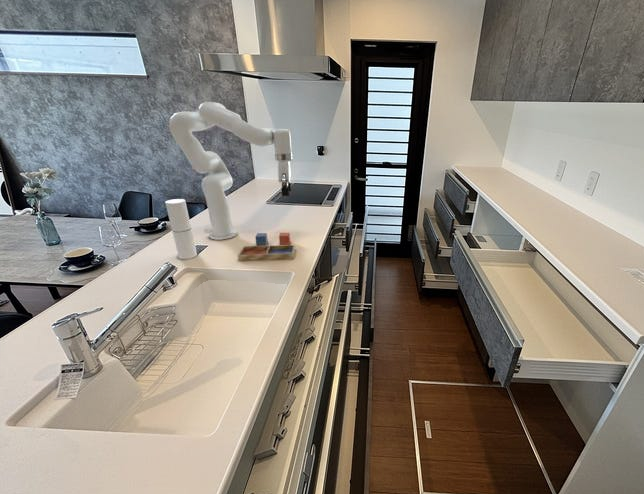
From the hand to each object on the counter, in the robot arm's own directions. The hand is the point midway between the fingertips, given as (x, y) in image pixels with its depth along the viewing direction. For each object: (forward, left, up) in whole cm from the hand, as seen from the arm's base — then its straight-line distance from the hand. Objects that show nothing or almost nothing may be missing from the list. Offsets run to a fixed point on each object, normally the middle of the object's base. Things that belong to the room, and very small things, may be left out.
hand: (286, 193), depth 148 cm
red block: (-2, -7, -24) cm, 25 cm away
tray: (-8, -20, -24) cm, 32 cm away
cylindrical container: (-43, -18, -24) cm, 52 cm away
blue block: (-13, -7, -24) cm, 28 cm away
